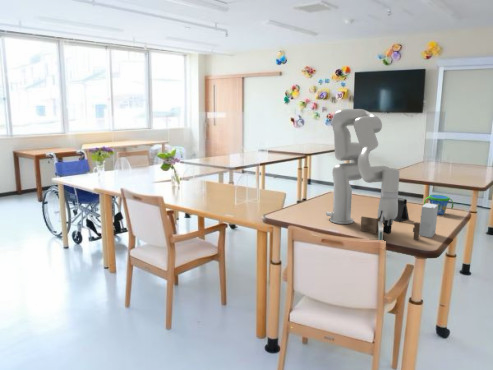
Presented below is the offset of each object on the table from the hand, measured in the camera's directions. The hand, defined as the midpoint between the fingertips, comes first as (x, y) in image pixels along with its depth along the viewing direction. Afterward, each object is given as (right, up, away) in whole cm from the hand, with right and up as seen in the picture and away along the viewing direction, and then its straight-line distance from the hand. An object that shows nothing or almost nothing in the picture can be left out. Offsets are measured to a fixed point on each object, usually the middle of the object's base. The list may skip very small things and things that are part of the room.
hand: (387, 233), depth 196 cm
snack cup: (+45, +6, +46) cm, 64 cm away
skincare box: (+22, -2, +6) cm, 23 cm away
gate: (-3, -2, 0) cm, 4 cm away
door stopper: (+18, +3, +33) cm, 38 cm away
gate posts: (+3, -1, +7) cm, 7 cm away
